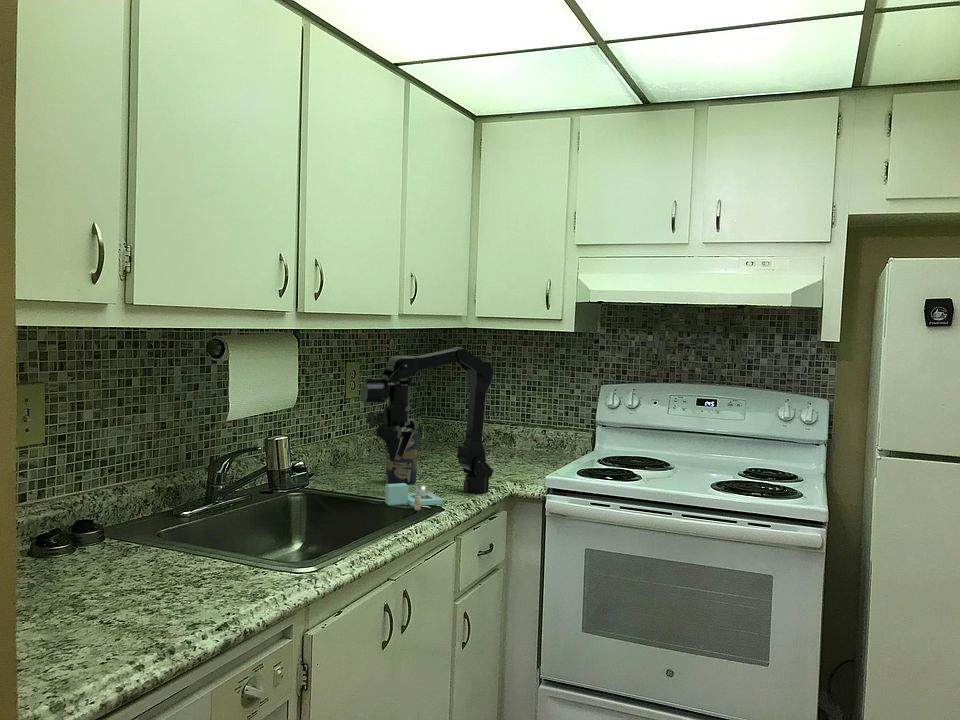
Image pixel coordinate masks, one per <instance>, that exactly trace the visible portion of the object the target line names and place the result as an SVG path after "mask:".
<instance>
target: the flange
mask: <svg viewBox="0 0 960 720" xmlns="http://www.w3.org/2000/svg"><path fill="white" fill-rule="evenodd" d="M409 486H410V485H407V484H405V483H398V484H387V483H385V488H384V489H385V491H384V492H385V493H384V503H385V504H386V505H388V506H395V505H409V506H410V507H415V496H416V492H415V493H409ZM443 504H444V499H443V498H441V497H439V496H438V495H436V494H434V493H432V492H428V491H427V499H421V507H422V506H433V505H434V506H436V505H443Z"/></svg>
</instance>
